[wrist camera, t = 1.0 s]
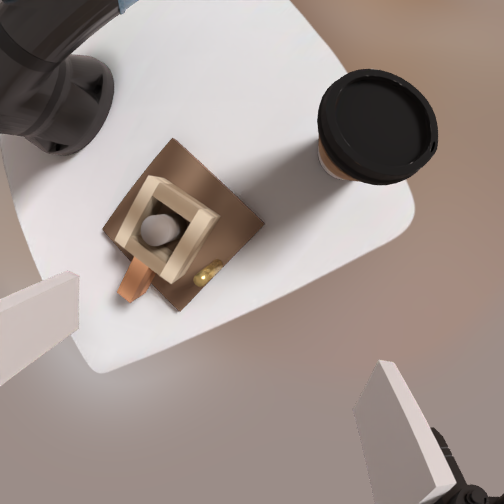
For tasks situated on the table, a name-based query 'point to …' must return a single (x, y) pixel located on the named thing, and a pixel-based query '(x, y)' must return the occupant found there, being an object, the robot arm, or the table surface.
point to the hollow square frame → (160, 257)
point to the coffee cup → (375, 128)
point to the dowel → (207, 273)
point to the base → (174, 225)
